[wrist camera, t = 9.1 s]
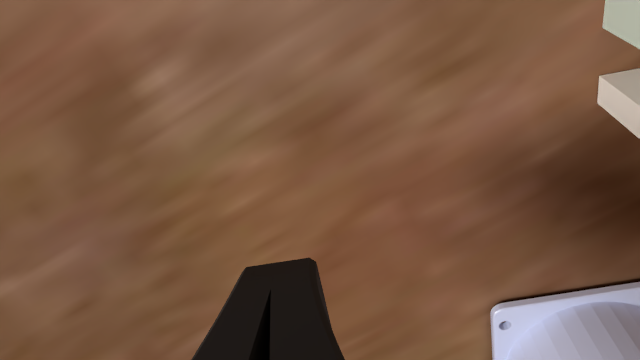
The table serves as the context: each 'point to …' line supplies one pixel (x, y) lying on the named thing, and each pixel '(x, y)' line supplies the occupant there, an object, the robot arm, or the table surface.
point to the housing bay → (622, 97)
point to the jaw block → (623, 20)
